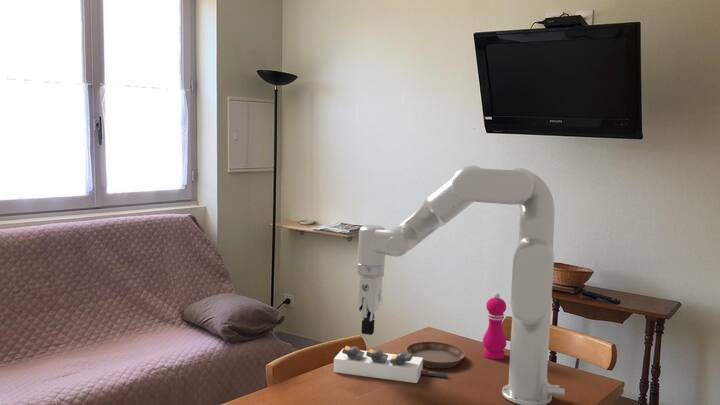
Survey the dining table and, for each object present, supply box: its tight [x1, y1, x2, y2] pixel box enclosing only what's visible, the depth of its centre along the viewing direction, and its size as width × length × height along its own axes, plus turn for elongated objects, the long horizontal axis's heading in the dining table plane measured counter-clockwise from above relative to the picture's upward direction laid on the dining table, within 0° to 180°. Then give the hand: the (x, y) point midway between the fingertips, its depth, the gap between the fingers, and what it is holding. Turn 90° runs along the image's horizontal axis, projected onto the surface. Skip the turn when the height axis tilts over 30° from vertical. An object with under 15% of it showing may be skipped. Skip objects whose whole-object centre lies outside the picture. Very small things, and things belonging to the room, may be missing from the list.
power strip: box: [333, 347, 449, 384], centre depth 174 cm, size 32×9×4 cm, turn 75°
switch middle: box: [366, 347, 388, 363], centre depth 173 cm, size 6×4×3 cm, turn 75°
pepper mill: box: [482, 292, 507, 361], centre depth 189 cm, size 7×7×20 cm
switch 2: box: [390, 351, 413, 365], centre depth 171 cm, size 6×4×3 cm, turn 74°
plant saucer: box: [405, 341, 466, 369], centre depth 186 cm, size 18×18×3 cm
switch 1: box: [342, 345, 365, 360], centre depth 175 cm, size 6×4×3 cm, turn 75°
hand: (367, 333), depth 173 cm, fingers closed
